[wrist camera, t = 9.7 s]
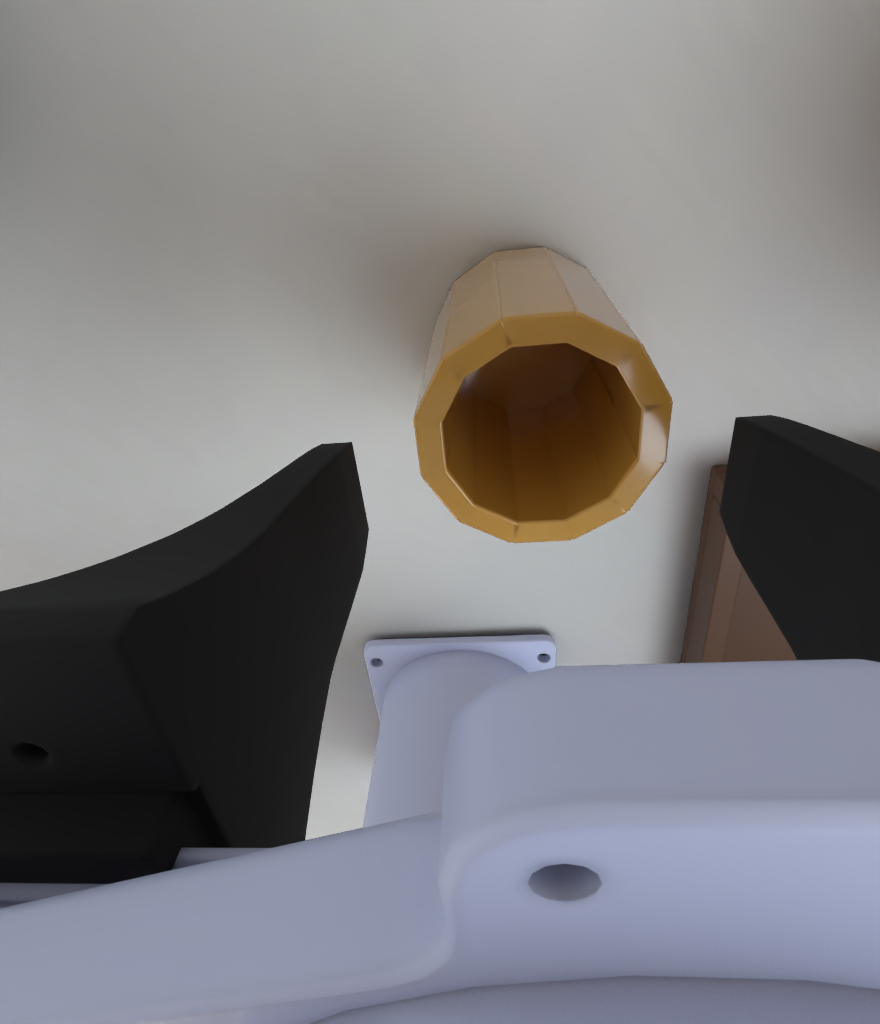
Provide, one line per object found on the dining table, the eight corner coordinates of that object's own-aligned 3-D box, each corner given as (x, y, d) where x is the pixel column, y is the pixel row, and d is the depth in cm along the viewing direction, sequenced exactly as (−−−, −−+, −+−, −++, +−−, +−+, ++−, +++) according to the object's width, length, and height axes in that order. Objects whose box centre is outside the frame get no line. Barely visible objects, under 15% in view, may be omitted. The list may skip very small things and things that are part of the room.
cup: (604, 412, 20) (657, 537, 14) (445, 424, 20) (430, 548, 14) (613, 239, 17) (685, 301, 11) (428, 257, 17) (399, 326, 11)
